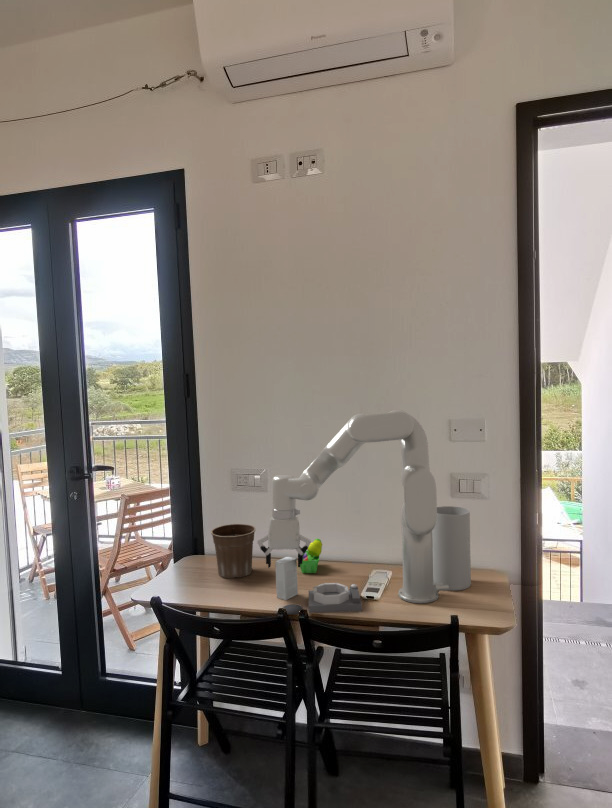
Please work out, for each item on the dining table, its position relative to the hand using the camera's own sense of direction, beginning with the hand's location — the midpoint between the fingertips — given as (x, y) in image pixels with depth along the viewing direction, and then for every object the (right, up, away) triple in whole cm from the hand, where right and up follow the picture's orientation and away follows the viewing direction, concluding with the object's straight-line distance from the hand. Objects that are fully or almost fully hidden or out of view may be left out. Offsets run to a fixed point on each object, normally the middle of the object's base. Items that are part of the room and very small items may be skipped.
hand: (284, 566), depth 174 cm
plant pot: (-19, -10, +23) cm, 32 cm away
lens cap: (+3, -11, -11) cm, 15 cm away
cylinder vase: (+56, -8, +6) cm, 57 cm away
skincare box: (+1, -10, 0) cm, 10 cm away
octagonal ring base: (+16, -10, -7) cm, 20 cm away
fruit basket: (+9, -9, +25) cm, 28 cm away
